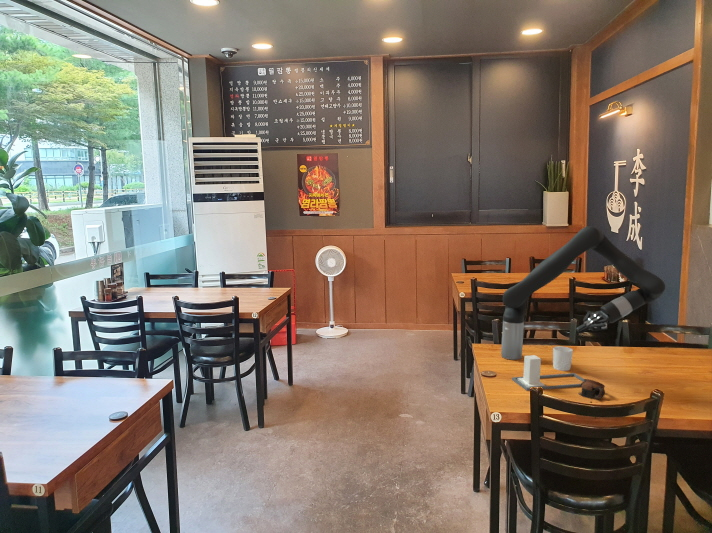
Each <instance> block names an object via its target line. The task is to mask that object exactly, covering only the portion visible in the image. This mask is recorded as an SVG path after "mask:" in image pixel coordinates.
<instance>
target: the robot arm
mask: <svg viewBox="0 0 712 533" xmlns="http://www.w3.org/2000/svg"><path fill="white" fill-rule="evenodd" d="M588 250H593V251H595V252H596V253H598V254H599V255H601V256H602V257H603V258H604V259H606V260H607V262H609V263H610V264H611V265H612V266H613V267H614V268H615V269H616V270H617V271H618V272H619V273H620V274H621V275H622V276H624V277H625V278H626V279H627V280H628V281H629V282H631V283H637V284H638V285H639V286H641V287H639V288H638V289H635V290H631V291H628V292H626V293H625V294H623V295H620V297H617V298H614V299H613V300H611V301H610V302H609V301H608V302H607V303H605V304H604V305H602V306H600V309H599V310H597V311H594V312H591V311H590V310H589V311H587V313H585V316H584V317H583V323H582V324H581V325H579V326H577V327H576V329H575V330H576V332H578V334H579V335H580V334H582V333H584V332H586V331H590V330H591V332H597V331H606V330H608V325H609V324H613V323H615V322H617V321H619V320H621V319H623V318H624V317H625V316H628V315H629V314H631V313H632V312H634V311H635V310H637V309H639V308H640V307H642V306H645V305H646V304H649V303H651V302H654V301H655V300H657V299H658V298H660V297H661V296H662V295H663V293H664V292H665V290H666V283H665V282H664V281H663V279H662V278H660V277H659V276H657V275H656V274H654V273H652V272H651V271H648V270H647V269H645V268H644V267H642V266H641V265H640V264H638V262H636V261H635V260H633V259H632V257H630V256H628V255H627V254H625V253H624V252H623V251H622V250H621V249H619V248H618V247H617V246H616V245H615V244H613V243H612V242H611V241H610V240H609V238H608V237H607V236H606V235H605V234H604V233H603V231H602V230H601V229H599V227H595V226H590V225H589V226H588V225H587V226H585V227H583V228H581V229H580V230H578V232H577V233H576V234H575V235H574V236H573V237H572V238H571V239H570V240H568V241H567V242H566V243H565V244H564V245H563V246H562V247H560V248H558V249H557V250H555V251H554V252H553V253H552V254H550V255H549V256H548V257H545V259H544V260H542V261H541V262H540V263H538V265H536V266H535V267H534V268H533V270H531V271H530V272H529V274H527V276H525V277H524V278H523V279H522V280H520V281H519V282H518V283H516V284H515V285H512V286H511V287H509V288H507V289H506V290H505V291H504V292H503V294H502V302H503V305H504V307H505V309H504V312H503V315H502V335H501V347H500V348H501V351H500V353H501V356H500V357H502V358H503V359H507V360H513V361H514V360H518V361H519V360H521V359H522V357H523V343H524V342H523V340H524V324H525V322H524V320H525V315H526V306H527V299H528V298H529V297H530V296H531V295H532V294H534V293H535V292H537V291H538V290H539V289H542V288H543V287H545V286H547V285H548V284H550V283H551V282H552V281H554V280H556V279H557V278H558V277H559V276H561V275H562V274H563V273H564V272H565V271H566V270H567V269H569V267H570V266H571V264H573V262H574V261H575V260H576V259H577V258H578V257H580V256H581V255H583V254H584V253H585V252H587V251H588Z"/></svg>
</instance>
